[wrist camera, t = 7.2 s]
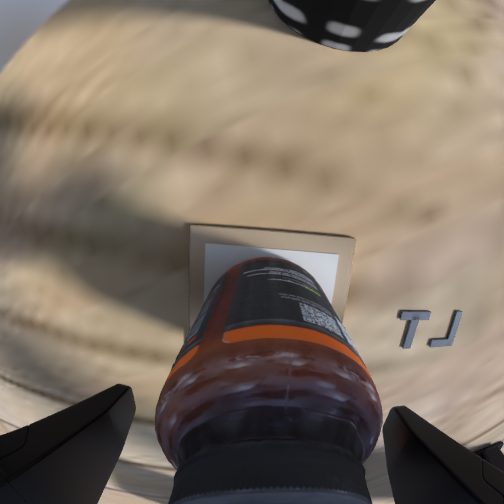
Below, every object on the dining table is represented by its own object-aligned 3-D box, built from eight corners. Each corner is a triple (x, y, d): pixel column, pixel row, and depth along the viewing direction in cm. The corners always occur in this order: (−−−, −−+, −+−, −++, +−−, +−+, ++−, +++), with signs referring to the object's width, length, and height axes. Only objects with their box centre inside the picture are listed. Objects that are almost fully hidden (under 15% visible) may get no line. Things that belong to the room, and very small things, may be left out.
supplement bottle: (214, 362, 15) (158, 553, 4) (201, 256, 14) (52, 425, 3) (324, 358, 15) (377, 550, 4) (327, 250, 14) (474, 416, 3)
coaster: (328, 372, 16) (330, 377, 15) (192, 361, 16) (190, 366, 16) (353, 237, 14) (356, 239, 13) (192, 224, 14) (189, 226, 14)
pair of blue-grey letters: (450, 344, 15) (451, 345, 15) (391, 347, 15) (392, 349, 15) (461, 310, 14) (462, 311, 14) (401, 310, 14) (402, 311, 14)
